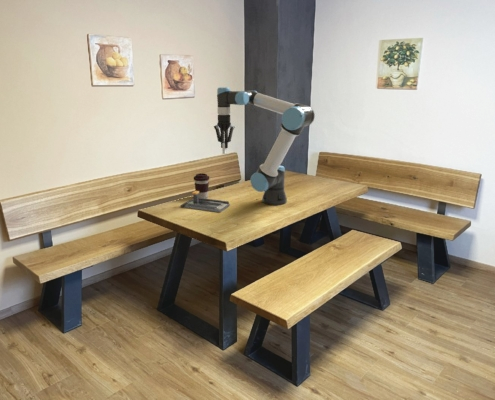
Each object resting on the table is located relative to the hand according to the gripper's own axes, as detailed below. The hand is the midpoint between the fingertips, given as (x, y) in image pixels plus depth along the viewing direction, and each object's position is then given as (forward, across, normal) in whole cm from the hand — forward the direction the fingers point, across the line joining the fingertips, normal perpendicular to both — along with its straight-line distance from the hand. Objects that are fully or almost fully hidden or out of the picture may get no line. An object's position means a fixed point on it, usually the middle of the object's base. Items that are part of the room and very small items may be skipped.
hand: (224, 153), depth 254 cm
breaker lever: (+28, +11, +18) cm, 35 cm away
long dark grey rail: (+29, +6, +8) cm, 31 cm away
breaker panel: (+29, +5, +18) cm, 35 cm away
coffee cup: (+30, +16, +1) cm, 34 cm away
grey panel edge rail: (+29, +16, +18) cm, 38 cm away
